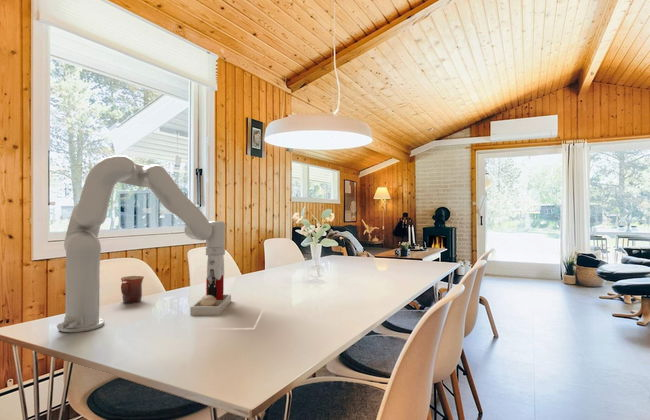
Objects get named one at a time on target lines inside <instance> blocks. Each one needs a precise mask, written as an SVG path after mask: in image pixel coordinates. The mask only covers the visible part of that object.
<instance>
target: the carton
mask: <svg viewBox="0 0 650 420" xmlns="http://www.w3.org/2000/svg"><path fill="white" fill-rule="evenodd" d="M205 296H206V294H205V295H203V296H202V297H201V298H200V299H198V300H197V301H196V302H195V303H193V304H192V305H191V306H189V307H190V308H189V309H190V310H189V312H190V313H189V315H190V316H220V315H221V314H222V313H223V312H224V310H225V309H226V308H227V307H228V306H229V305H230V303H231V302H232V294H223V300H217V305H216V306H201V300H202V298H203V297H205Z"/></svg>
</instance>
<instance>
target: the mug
mask: <svg viewBox="0 0 650 420" xmlns="http://www.w3.org/2000/svg"><path fill="white" fill-rule="evenodd" d="M144 278H145V276H143V275H129V276H122V277H120V280H121V281H120V282H121V285H120V291H121V295H122V302H123V303H125V304H134V303H135V302H136V303H139V302H140V301H141V300H142V297H143V281H144Z"/></svg>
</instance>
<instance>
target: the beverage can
mask: <svg viewBox="0 0 650 420" xmlns="http://www.w3.org/2000/svg"><path fill="white" fill-rule="evenodd" d="M224 278H225V276H224V277H223V275H222V276H221V279H220V280H218V279H217V281H216V287H217V296H216V297H215V298H216V300H223V295H224V289H225V288H224V287H225V286H224ZM213 279H215V278H214V277H213ZM205 281H206V285H205V286H206V287H205V295H206V296H207V295H208V284H209V283H208V282H209V281H208V279H207V277H206V280H205Z"/></svg>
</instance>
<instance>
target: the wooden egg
mask: <svg viewBox="0 0 650 420" xmlns="http://www.w3.org/2000/svg"><path fill="white" fill-rule="evenodd" d="M204 296H205V295H204ZM202 297H203V296H202ZM202 297H201V298H202ZM216 305H217V300H216V298H215V297H214V296H212V295H207V296H205V297H203V298H202V300H201V306H216Z"/></svg>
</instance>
